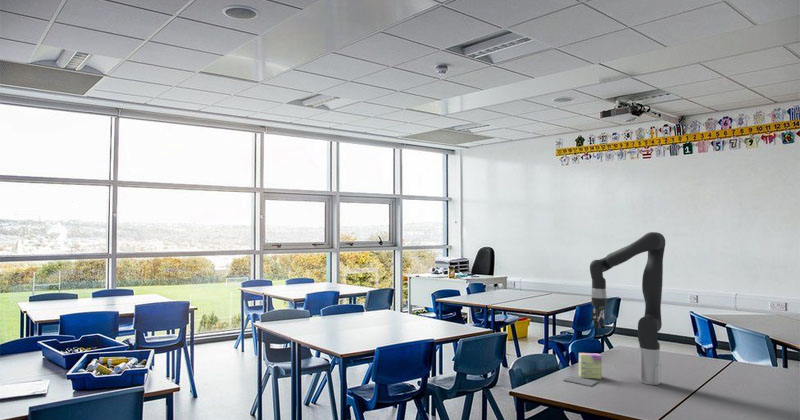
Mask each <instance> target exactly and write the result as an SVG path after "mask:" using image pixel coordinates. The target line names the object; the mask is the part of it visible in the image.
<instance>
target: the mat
mask: <svg viewBox="0 0 800 420" xmlns="http://www.w3.org/2000/svg"><path fill="white" fill-rule="evenodd" d="M563 382H567V383H572V384H576V385H581V386H586V387H590V388H591V387H593V386H596V385H597V384H598V383H599V382H600V381H598V380H594V379H591V378H581V377H580V376H579V377H578V376H575V375H574V376H573V375H570V376H568V377H566V378H564V379H563Z"/></svg>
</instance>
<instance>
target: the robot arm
mask: <svg viewBox="0 0 800 420" xmlns="http://www.w3.org/2000/svg"><path fill="white" fill-rule="evenodd" d="M665 248H666V238H665V236H664V234H662V233H660V232H657V231H655V232H654V231H650V232H647V233H645V234H644V235H642V236H641V237H640V238H639V239H636V240H635V241H633V242H632V243H630V244H628V245H626V246H624V247H621V248H619V249H617V250H615V251H613V252H611V253H608V254H606V256H605V257H603V258H600V259H594V260H592V261H591V262H590V265H589V272H590V277H591V306H594V308H592V309H591V320H592V321H593V328H594V329H596V330H597V329H599V327H602V328H603V327H604V326H605V319H606V317H607V316H606V315H607V314H606V313H607V311H606V310H607V309H606V306H607V283H606V282H607V281H606V278H605V277H604V273H605V272H607V271H609V270H610V269H612V268H614V267H617V266H619V265H621V264H623V263H625V262H627V261H629V260H630V259H632V258H633V257H636V256H637V255H640V254H642V253H646V252H647V261H646V265H645V267H644V270H643V273H642V280H641V289H642V295H643V299H644V302H645V303H644V304H645V308H644V309H645V310H644V315H643V316H642V317H641V318H639V320H638V321H637V340H638V341H637V342H638V343H639V356H638V357H639V359H638V360H639V365H638V366H639V378H638V379H639V382H640V383H641V384H645V385H653V386H659V385H660V384H662V364H661V363H660V361H661V360H660V358H661V356H660V353H661V346H660V342H659V340H658V332H660V330H661V329H662V326H663V325H662V311H661V310H662V309H661V306H662V295H663V294H662V292H663V280H664V279H663V278H664V277H663V276H664V272H663V271H664V270H663V268H664V256H665V255H664V254H665Z"/></svg>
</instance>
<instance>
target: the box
mask: <svg viewBox="0 0 800 420" xmlns="http://www.w3.org/2000/svg"><path fill="white" fill-rule="evenodd" d="M602 358H603V356H602V354H600V353H594V352H593V353H591V352H578V366H577V367H578V368H577V369H578V376H579V377H580V378H585V379H598V380H601V379H602V370H603V369H602V368H603V367H602V362H603V361H602Z"/></svg>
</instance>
